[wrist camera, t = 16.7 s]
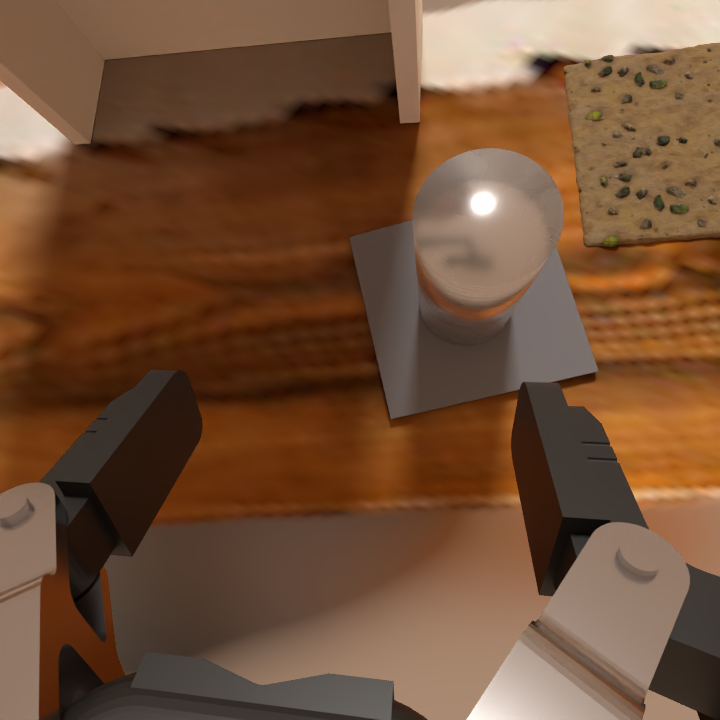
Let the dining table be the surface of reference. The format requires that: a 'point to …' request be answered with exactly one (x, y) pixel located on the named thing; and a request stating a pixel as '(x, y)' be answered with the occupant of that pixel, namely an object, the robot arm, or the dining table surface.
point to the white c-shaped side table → (178, 42)
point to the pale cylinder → (482, 240)
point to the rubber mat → (457, 362)
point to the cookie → (647, 145)
